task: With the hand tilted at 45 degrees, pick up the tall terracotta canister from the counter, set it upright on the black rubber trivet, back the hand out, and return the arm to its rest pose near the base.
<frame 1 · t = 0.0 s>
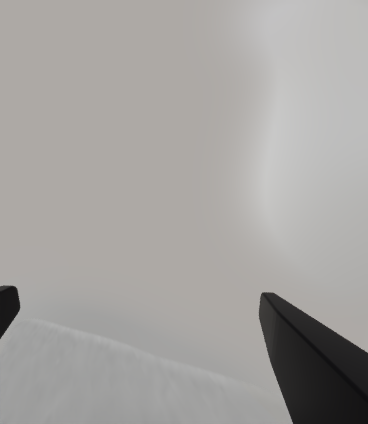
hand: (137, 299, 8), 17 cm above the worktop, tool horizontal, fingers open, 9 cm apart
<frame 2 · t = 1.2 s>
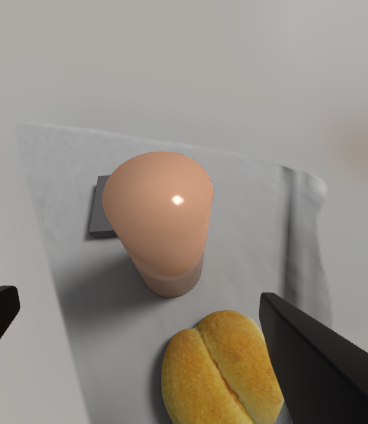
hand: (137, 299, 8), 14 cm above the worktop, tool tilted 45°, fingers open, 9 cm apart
canister: (171, 266, 23), on the worktop
bread roll: (220, 370, 19), on the worktop
trivet: (130, 206, 27), on the worktop
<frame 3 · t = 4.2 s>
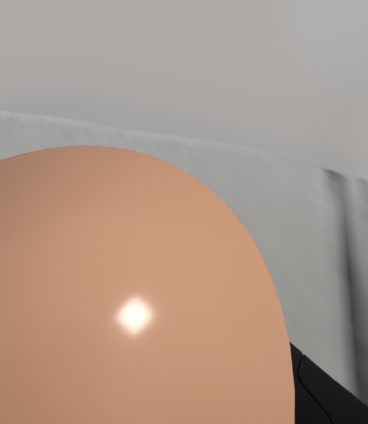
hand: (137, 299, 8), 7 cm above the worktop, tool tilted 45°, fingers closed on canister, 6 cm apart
canister: (155, 347, 13), on the worktop, touching gripper
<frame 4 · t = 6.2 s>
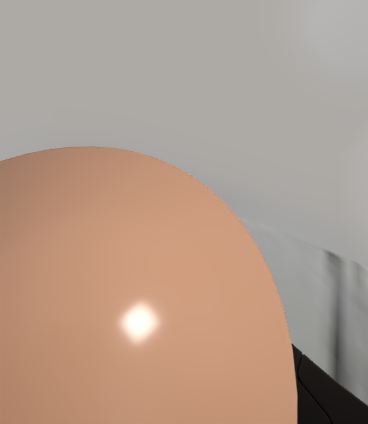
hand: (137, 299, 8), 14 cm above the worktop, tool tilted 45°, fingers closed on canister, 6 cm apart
canister: (156, 347, 13), point 7 cm above the worktop, touching gripper
when the fingers open (9 cm above the worktop, at t = 8.3 s): canister drops 1 cm, resting on trivet.
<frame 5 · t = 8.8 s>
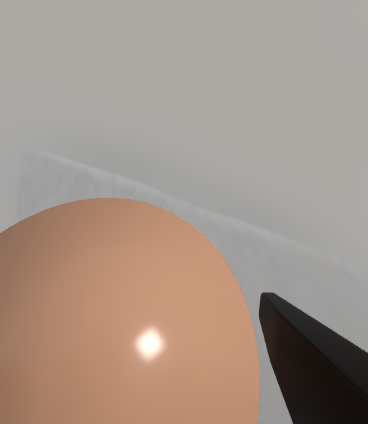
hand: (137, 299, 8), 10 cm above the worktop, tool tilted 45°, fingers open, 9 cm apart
canister: (158, 350, 15), point 2 cm above the worktop, touching trivet
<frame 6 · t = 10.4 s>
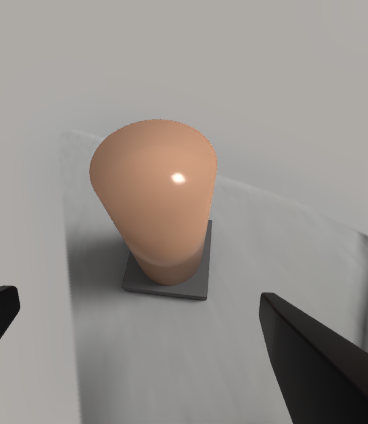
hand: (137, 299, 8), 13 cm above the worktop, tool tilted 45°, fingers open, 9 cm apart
canister: (170, 252, 22), point 2 cm above the worktop, touching trivet
trivet: (171, 256, 23), on the worktop
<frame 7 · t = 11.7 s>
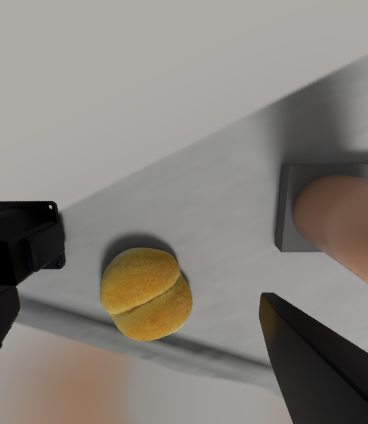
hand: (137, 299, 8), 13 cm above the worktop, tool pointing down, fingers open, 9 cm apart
canister: (328, 210, 19), point 2 cm above the worktop, touching trivet
bread roll: (149, 285, 23), on the worktop
trivet: (320, 206, 21), on the worktop
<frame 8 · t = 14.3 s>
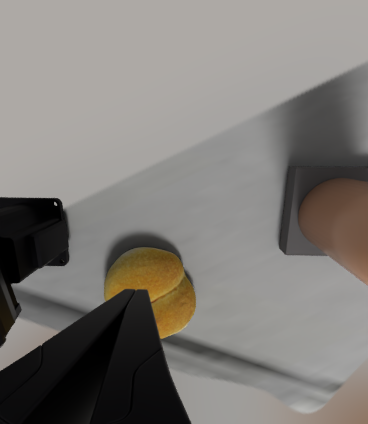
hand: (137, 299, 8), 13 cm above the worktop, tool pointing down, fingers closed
canister: (335, 214, 19), point 2 cm above the worktop, touching trivet
bread roll: (153, 285, 23), on the worktop
trivet: (326, 209, 21), on the worktop
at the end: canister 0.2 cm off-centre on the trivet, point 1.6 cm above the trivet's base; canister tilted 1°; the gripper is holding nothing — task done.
